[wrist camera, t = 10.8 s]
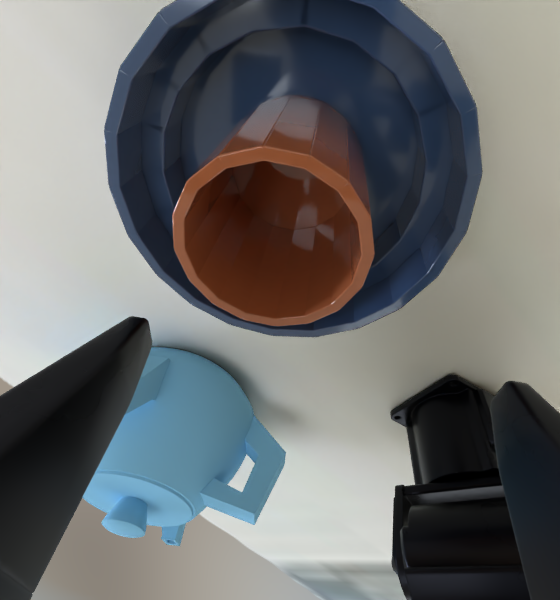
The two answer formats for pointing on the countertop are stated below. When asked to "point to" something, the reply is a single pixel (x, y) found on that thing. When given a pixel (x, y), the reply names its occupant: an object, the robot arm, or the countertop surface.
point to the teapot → (183, 450)
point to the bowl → (309, 82)
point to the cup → (279, 215)
